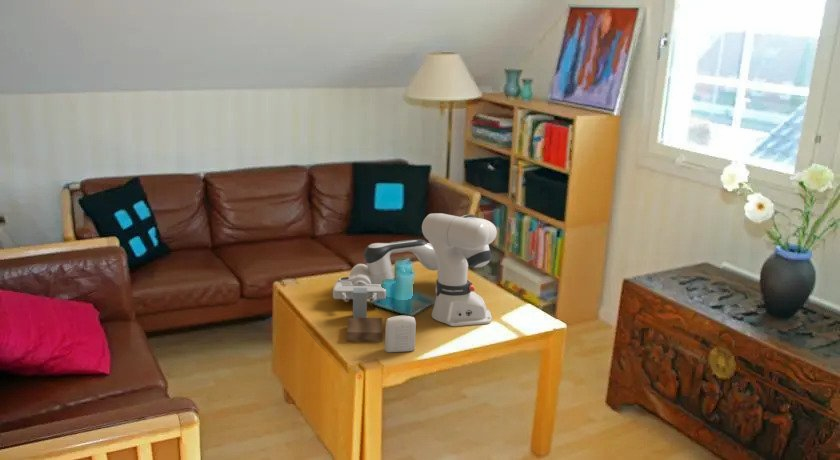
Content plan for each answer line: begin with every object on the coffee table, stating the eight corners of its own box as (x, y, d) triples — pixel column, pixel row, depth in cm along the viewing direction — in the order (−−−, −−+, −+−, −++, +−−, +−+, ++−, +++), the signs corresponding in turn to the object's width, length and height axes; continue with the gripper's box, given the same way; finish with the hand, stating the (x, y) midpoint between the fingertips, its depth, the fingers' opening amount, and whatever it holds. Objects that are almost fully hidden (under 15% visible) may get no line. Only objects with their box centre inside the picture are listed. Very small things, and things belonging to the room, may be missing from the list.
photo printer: (413, 345, 249) (414, 312, 245) (416, 351, 245) (417, 317, 241) (383, 348, 246) (384, 314, 243) (386, 353, 242) (386, 319, 239)
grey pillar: (366, 315, 272) (367, 287, 269) (366, 320, 267) (366, 292, 264) (353, 315, 272) (353, 287, 268) (352, 320, 267) (353, 292, 264)
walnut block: (381, 328, 262) (381, 318, 261) (382, 343, 251) (382, 332, 250) (348, 328, 262) (348, 317, 260) (347, 342, 250) (347, 332, 249)
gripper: (386, 293, 286) (387, 307, 273) (334, 293, 285) (332, 307, 271) (386, 278, 284) (387, 292, 271) (334, 278, 283) (332, 291, 270)
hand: (359, 299), depth 271 cm, fingers open, 8 cm apart
